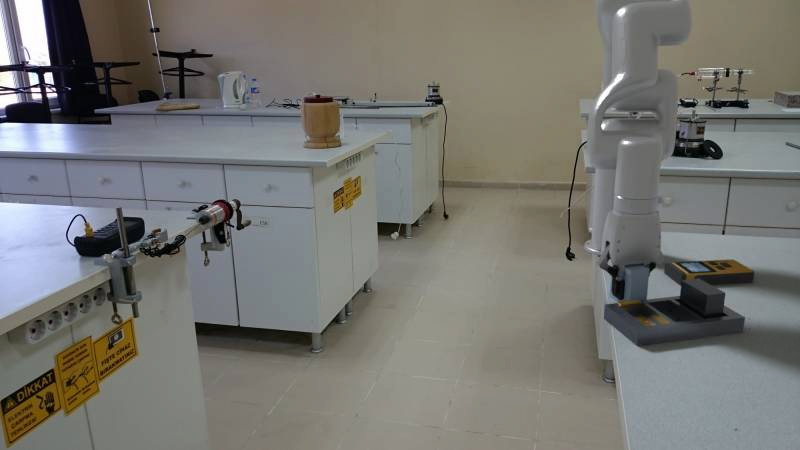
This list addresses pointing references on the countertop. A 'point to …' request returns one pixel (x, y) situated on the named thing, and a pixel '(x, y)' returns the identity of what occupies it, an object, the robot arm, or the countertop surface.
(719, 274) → the electronic device
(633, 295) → the light blue block
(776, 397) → the countertop surface
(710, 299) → the rack
